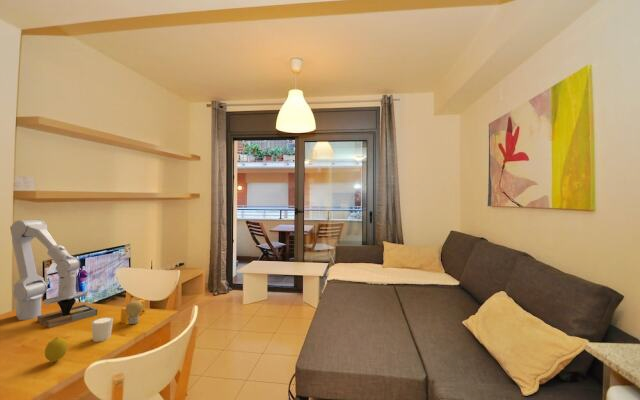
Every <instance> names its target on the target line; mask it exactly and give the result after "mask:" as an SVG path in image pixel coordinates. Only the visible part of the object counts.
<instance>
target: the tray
mask: <svg viewBox="0 0 640 400" xmlns="http://www.w3.org/2000/svg"><path fill="white" fill-rule="evenodd" d="M82 307H88V308H90V311H87V312H83V313H79V314H75V315H71V316H72V321H74V322H77V321H80V319H81V320H84V319H87V317H88V318H91V316H92V317H95V316H98V308H95V307H93V306H91V305H88V304H87V303H84V304H83V303H82V304H80V305H76V306H72V308H71V310H74V309H78V308H82ZM59 311H62V310H61V309H60V310H59ZM94 315H95V316H94ZM83 318H84V319H83ZM76 320H77V321H76Z"/></svg>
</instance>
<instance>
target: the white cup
mask: <svg viewBox="0 0 640 400" xmlns="http://www.w3.org/2000/svg"><path fill="white" fill-rule="evenodd" d="M113 322H114V318H113V317H111V316H110V317H109V316H107V317H106V316H105V317H100V318H96V319H94V320H92V321H91V332H92V333H91V335H92V342H95V343H96V342H97V343H98V342H103V341H107V340H109V339H110V338H111V336H112V330H113Z"/></svg>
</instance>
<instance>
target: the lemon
mask: <svg viewBox="0 0 640 400" xmlns="http://www.w3.org/2000/svg"><path fill="white" fill-rule="evenodd" d="M67 350H68V343H67V341H66V339H65V338H62V337H55V338H52V340H50V341H49V342H48V343H47V344H46V347H45V349H44V357H45V359H46V360H47V361H50V362H54V363H55V362H58V361H59V360H61V359H62V358H63V357H64V356H65V355H66V353H67Z"/></svg>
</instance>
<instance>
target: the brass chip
mask: <svg viewBox="0 0 640 400" xmlns="http://www.w3.org/2000/svg"><path fill="white" fill-rule="evenodd" d="M79 313H80V310H78V309H74V310H70V313H69V315H70V316H71V315H75V314H79Z"/></svg>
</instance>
